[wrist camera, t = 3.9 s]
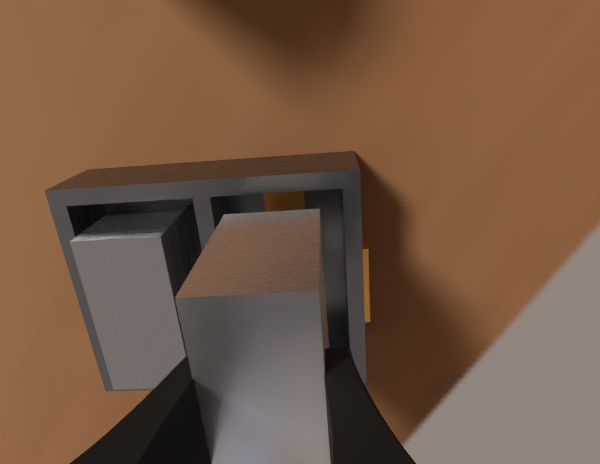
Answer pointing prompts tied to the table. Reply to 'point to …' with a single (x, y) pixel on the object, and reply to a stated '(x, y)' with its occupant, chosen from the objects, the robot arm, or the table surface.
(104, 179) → the rack
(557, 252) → the table surface
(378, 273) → the table surface
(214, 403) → the grey block
